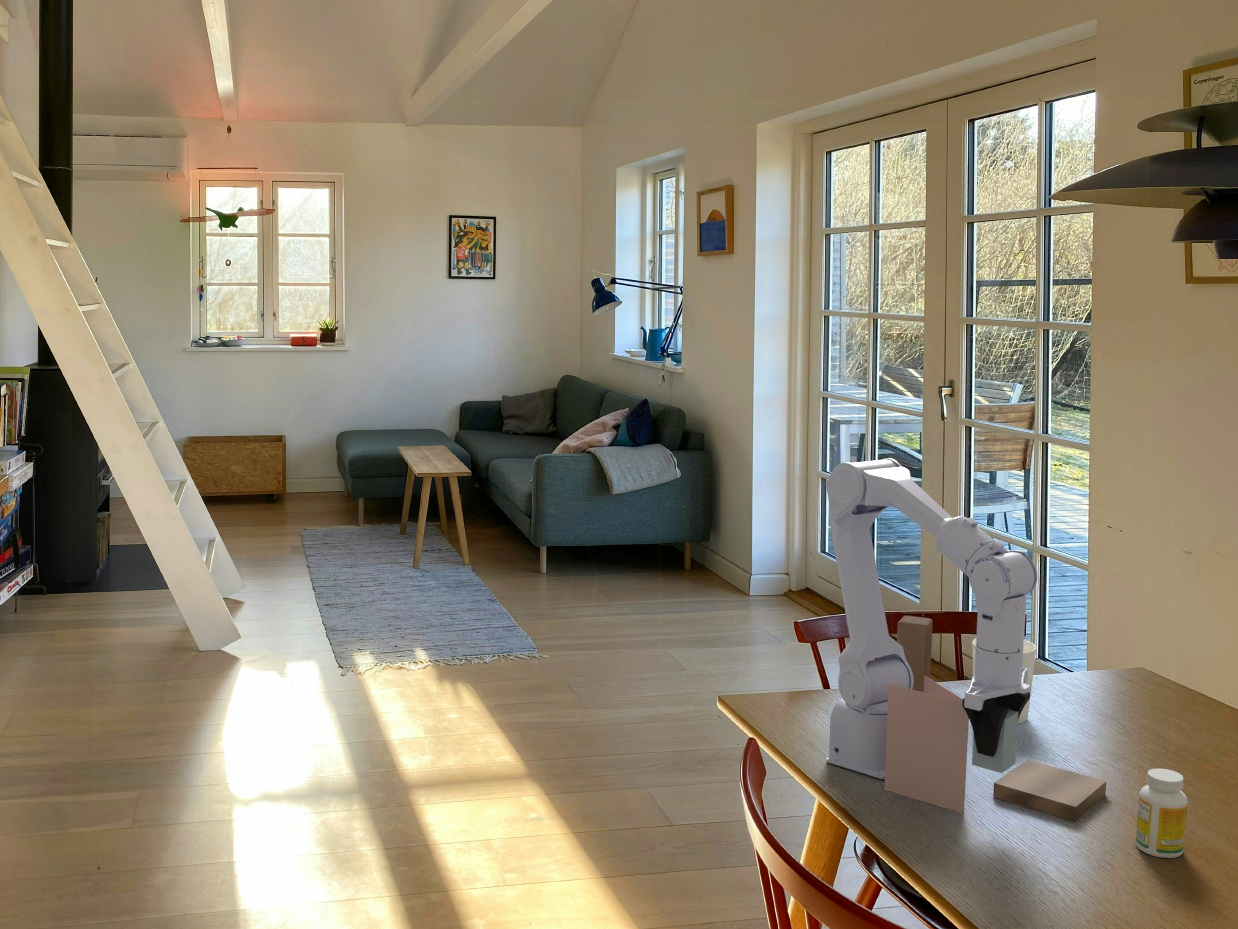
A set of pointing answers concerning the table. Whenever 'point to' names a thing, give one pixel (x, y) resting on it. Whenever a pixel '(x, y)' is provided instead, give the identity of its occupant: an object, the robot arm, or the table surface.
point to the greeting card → (927, 745)
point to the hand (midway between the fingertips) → (993, 749)
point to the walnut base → (1050, 789)
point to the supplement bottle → (1162, 814)
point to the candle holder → (1027, 662)
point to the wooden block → (916, 646)
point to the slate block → (1000, 747)
